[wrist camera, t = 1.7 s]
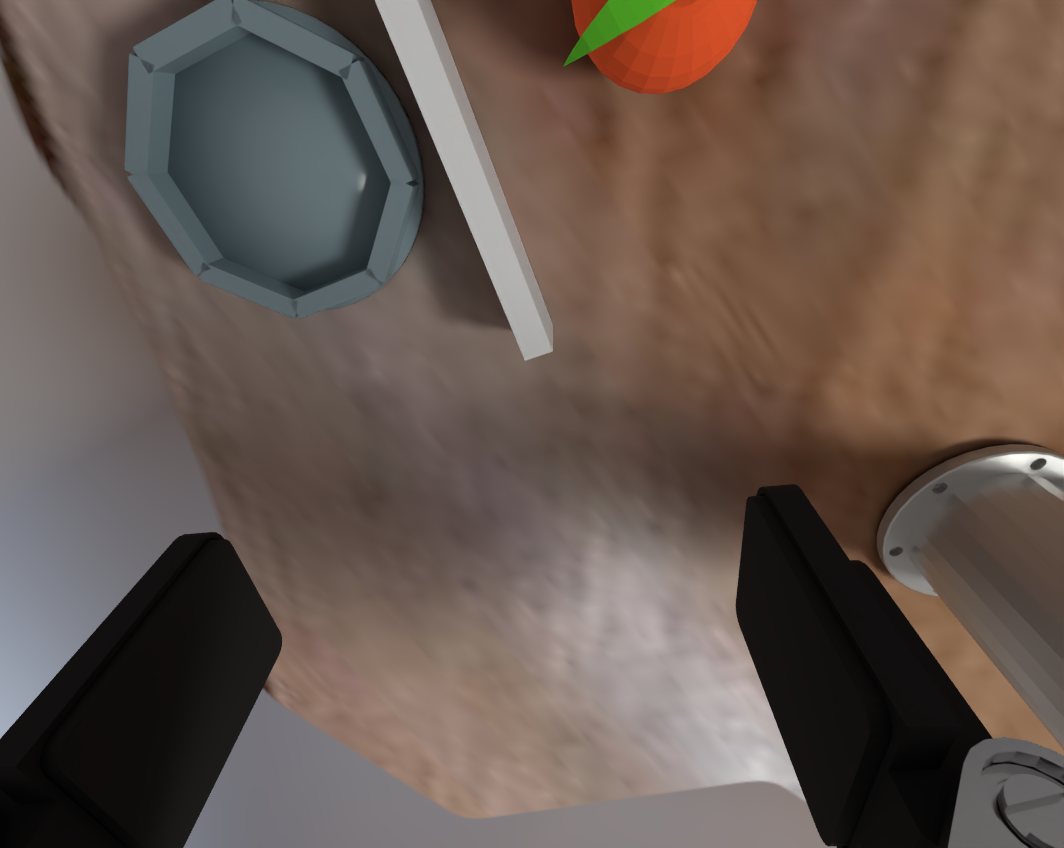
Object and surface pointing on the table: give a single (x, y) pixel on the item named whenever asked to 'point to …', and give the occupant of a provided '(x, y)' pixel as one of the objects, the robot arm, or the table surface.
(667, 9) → the clementine
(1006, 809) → the robot arm
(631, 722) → the table surface
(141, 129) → the grey shallow dish
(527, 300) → the low wall
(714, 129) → the table surface
